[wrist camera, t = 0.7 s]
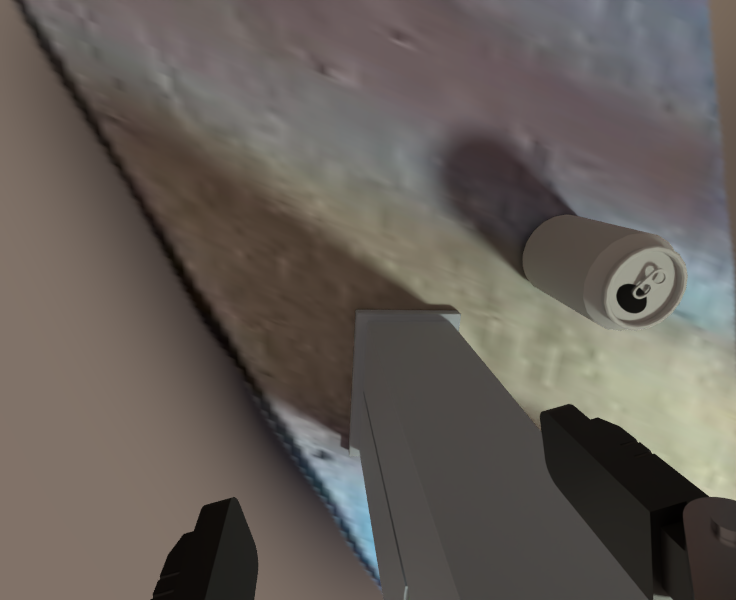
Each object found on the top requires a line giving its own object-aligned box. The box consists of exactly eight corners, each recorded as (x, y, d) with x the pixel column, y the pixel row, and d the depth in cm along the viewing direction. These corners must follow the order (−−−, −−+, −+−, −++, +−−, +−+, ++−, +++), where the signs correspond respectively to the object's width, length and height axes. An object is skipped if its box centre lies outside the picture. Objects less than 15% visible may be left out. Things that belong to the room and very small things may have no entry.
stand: (355, 309, 40) (492, 787, 10) (457, 310, 41) (849, 731, 11) (348, 450, 45) (424, 1046, 15) (439, 447, 46) (675, 986, 16)
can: (502, 261, 40) (576, 303, 29) (556, 196, 39) (657, 214, 27) (553, 303, 42) (641, 358, 31) (607, 244, 41) (719, 278, 30)
